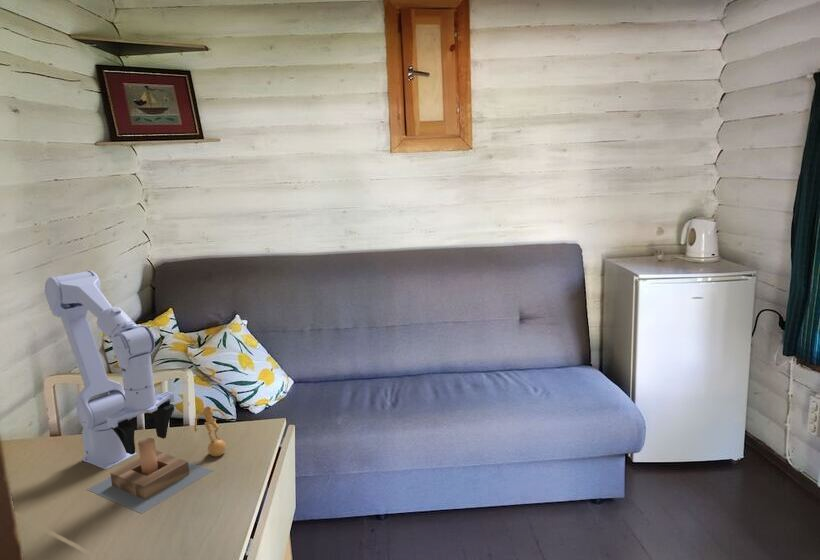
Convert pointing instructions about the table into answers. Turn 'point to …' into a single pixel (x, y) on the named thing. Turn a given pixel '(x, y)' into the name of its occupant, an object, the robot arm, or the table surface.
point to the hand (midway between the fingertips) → (146, 444)
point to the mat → (143, 505)
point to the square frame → (150, 476)
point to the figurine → (216, 445)
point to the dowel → (148, 456)
